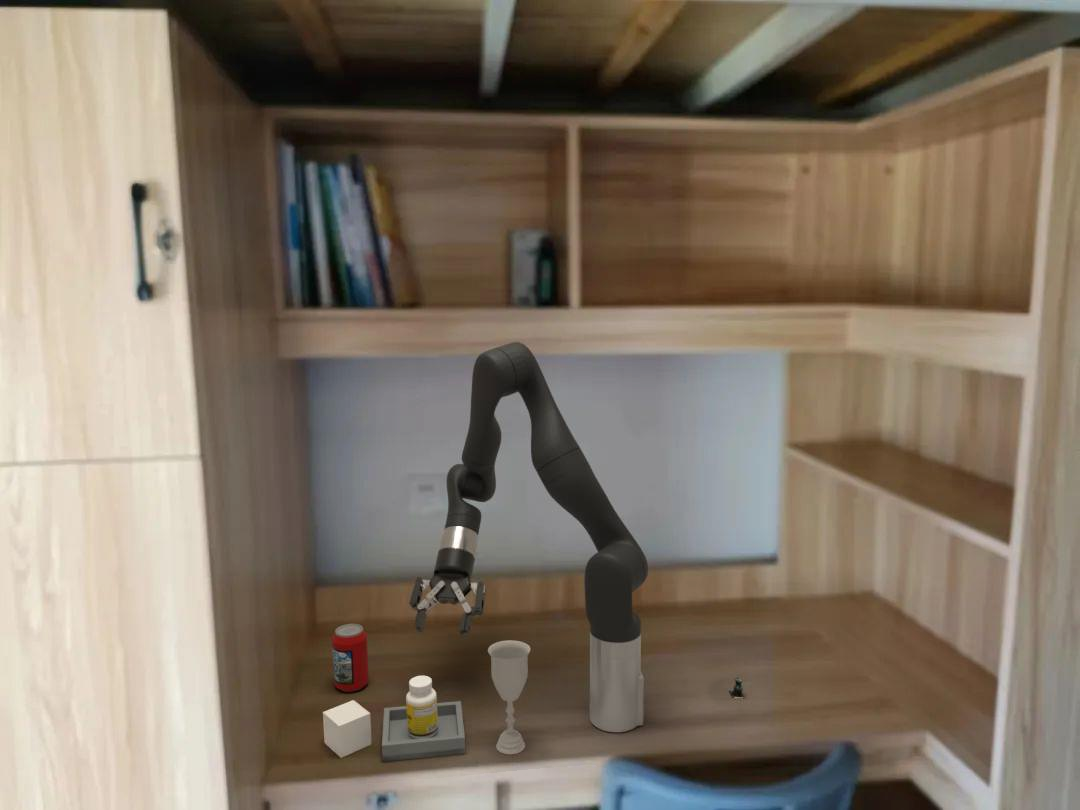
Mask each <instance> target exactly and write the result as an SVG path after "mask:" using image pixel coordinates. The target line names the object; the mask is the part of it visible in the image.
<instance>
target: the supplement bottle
mask: <svg viewBox="0 0 1080 810" xmlns="http://www.w3.org/2000/svg"><path fill="white" fill-rule="evenodd" d="M408 687H409V691H408V692H407V693H406V698H405V703H406V704H405V706H406V709H407V724H408V733H409V735H410V736H411V737H412V738H414V739H422V738H430V737H432V736H434V735H435V734H436V733H437V731H438V713H437V703H438V698H437V692H436V690H435V689H434V688H433V680H432V678H431V677H430V676H427V675H417V676H414V677H412V678H410V680H409V681H408Z"/></svg>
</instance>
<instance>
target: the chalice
mask: <svg viewBox="0 0 1080 810" xmlns="http://www.w3.org/2000/svg"><path fill="white" fill-rule="evenodd" d="M530 646H531V645H528V644H527V643H525V642H523V641H519V640H511V639H510V640H501V641H497V642H495V643H493V644H491V645H490V646H489V647H488V649H487V652H488V654H489V655H490V660H491V661H490V662H491V663H490V665H491V666H490V667H491V670H490V671H491V673H490V674H491V680H492V681H493V684H494V686H495V689H496V691H497V693H498V694H499V697H501V699H502V700H503V701H504V702H506V703H507V704H506V705H507V706H506V708H505V712H506V715H507V716H506V718H505V720H504V722H505V723H506V724H507V728H506V729H505V730H503V731H502V733H500V736H499V738H498V740H497V743H496V745H495V746H496V750H497V751H498V752H500V753H501V754H505V755H516V754H519V753H521V752H522V751H524V749H526V748H525V747H526V743H525V741H524V739H523V737H522V734H521V733H520V732H519V731H518V730H517V729H514V728H515V727H514V723H515V722H516V718H514V713H515V711H516V710H515V708H514V705H513V704H514V701H517V700H518V699H519V698H520V695H521V694H522V691H523V689H524V687H525V685H526V682H527V679H528V676H529V672H528V670H529V669H528V661H529V660H528V659H529V657H528V656H529V654H530V652H531V647H530Z"/></svg>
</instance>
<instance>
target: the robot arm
mask: <svg viewBox="0 0 1080 810" xmlns="http://www.w3.org/2000/svg"><path fill="white" fill-rule="evenodd" d="M471 380H472V381H471V394H470V395H471V396H470V412H469V413H470V415H469V423H468V424H469V425H468V431H467V435H466V438H465V442H464V445H463V450H462V453H461V461H462V463H456V464H454V465H453V466H451V467H450V468H449V469H448V472H447V475H446V492H447V493H446V494H447V502H448V503H447V504H448V505H447V507H448V508H447V514H446V520H445V524H444V530H443V533H442V535H441V537H440V538H441V539H440V541H439V547H438V552H437V556H436V561H435V565H434V571H433V575H432V577H431V578H430V579H423V578H422V577H421V576H417V577H416V579H415V582H414V585H413V589H412V591H411V595H410V598H409V603H408V604H409V605H410V607H411V609H412V610H413V611H416V615H415V620H414V627H415V628H416V630H417V632H418V633H424V628H425V623H426V620H427V612H428V611H429V610H431V608H434V607H435V606H436V605H437V604H438V603H440V604H441V605H445V604H450V605H457V604H459V603H460V605H461V606H462V608H463V610H464V613H463V614H462V616H461V617H462V618H461V624H460V629H459V634H460V636H461V637H466V635H467V634H469V633H470V631H471V626H472V621H473V617H474V616H477V615H478V616H481V615H483V614H484V608H485V598H486V591H487V590H486V589H487V587H486V585H485V583H484V581H482V580H479V581H478V582H472V577H473V571H474V565H475V561H476V557H477V553H478V552H477V550H478V539H479V533H480V528H481V522H482V512H481V510H480V509H479V508H478V507H476V506H475V505H473V504H471V503H469V502H467V501H466V500H470V501H472V502H473V501H474V502H477V503H478V502H479V503H486V502H488V501H490V500H491V499H492V498H493V497H494V495H495V492H496V488H497V487H496V486H497V480H496V479H497V478H496V471H495V470H496V469H495V465H496V462H497V461H496V460H497V457H498V453H499V451H500V447H501V443H502V430H501V426H500V424H499V422H498V420H497V417H496V415H495V412H496V409H497V407H498V404H499V402H500V401H501V399H502V398H505V397H509V396H511V395H514V394H516V393H519V395H520V396H521V399H522V400H523V403H524V404H525V407H526V409H527V411H528V414H529V419H530V427H531V428H530V431H531V432H530V434H531V435H530V457H531V462H532V465H533V467H534V470H535V471H536V474H537V476H538V478H539V479H540V480H541V483H542V485H543V486H544V488H545V489H546V492H547V493H548V494H549V496H550V497H551V498H552V500H554V501H555V502H556V503H557V504H558V505H559V506H560V507H561V508H562V509H564V510H565V511H566V512H568V513H569V514H570V515H571V516H572V517H574V519H576V520H577V521H578V522H579V523H580V525H582V527H583V529H585V531H586V532H587V534H588V536H589V538H590V539H591V541H592V543H593V545H594V547H595V549H596V550H597V552H595V553H594V554H593V555H592V556H591V557H590V558H588V561H587V563H586V565H585V569H584V602H585V603H584V605H585V615H586V619H587V621H588V623H589V720H590V722H591V724H592V725H594V727H595V728H597V729H599V730H602V731H604V732H610V733H625V732H629V731H631V730H633V729H635V728H637V727H638V726H639V727H640V726H644V698H645V696H644V695H645V694H644V691H645V690H644V689H645V687H644V685H645V683H644V681H645V680H644V675H643V673H642V671H641V665H642V664H641V661H642V659H641V658H642V656H641V655H642V654H641V653H642V652H641V649H642V643H641V642H642V620H641V617H640V616H639V615H638V614H637V613H636V612H635V611H633V592H635V591H636V590H637V589H639V588H640V587H641V586H642V585H643V584H644V583H645V581H646V580H647V577H648V574H649V564H648V561H647V557H646V555H645V553H644V551H643V550H642V548H641V546H640V545H639V543H638V542H637V540H636V539H635V537H634V536H633V534H632V533H631V532H630V531H629V529H628V527H627V526H626V524H625V523H624V522H623V520H622V518H620V516H619V515H618V513H617V511H616V510H615V509H614V506H613V505H612V503H611V501H610V500H609V498H608V496H607V493H605V491H604V489H603V487H602V485H601V484H600V481H599V480H598V478H597V477H596V475H595V473H594V471H593V469H592V466H591V465H590V463H589V461H588V459H587V458H586V455H585V453H584V452H583V451H582V449H581V447H580V445H579V444H578V442H577V440H576V439H575V437H574V435H573V434H572V432H571V429H570V428H569V426H568V424H567V423H566V421H565V418H564V416H563V415H562V413H561V411H560V409H559V407H558V405H557V403H556V401H555V399H554V396H553V394H552V391H551V389H550V387H549V386H548V383H547V380H546V378H545V376H544V374H543V371H542V369H541V366H540V365H539V363H538V360H537V358H536V357H535V355H534V354H533V352H532V351H531V350H530V348H529V347H528V346H526V345H525V344H524V343H522V342H519V341H513V342H510V343H507V344H503V345H500V346H497V347H494V348H491V349H488V350H485V351H483V352H482V353H480V354H479V355H478V356H477V357H476V359H475V361H474V364H473V369H472V376H471ZM464 499H465V500H464ZM429 587H430V591H429V592H428V593H427V594H426V595H425V596H424V598H423V600H422V597H423V593H424V592H426V591H427V589H428V588H429ZM472 590H473V593H474V595H475V601H474V605H473V606H471V605H469V603H468V601H467V599H466V597H467V595H468V594H469V593H470V592H471V591H472Z"/></svg>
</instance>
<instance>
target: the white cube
mask: <svg viewBox="0 0 1080 810" xmlns="http://www.w3.org/2000/svg"><path fill="white" fill-rule="evenodd" d="M322 719H323V720H322V721H323V737H324V738H323V739H324V744H325V745H326V746H327V747H328V748H329V749H331V751H333V753H335V754H336V755H337V756H338V757H339V758H341V759H342V758H344V757H346V756H348V755H350V754H353V753H356V752H357V751H360V750H362V749H364V748H366V747H368V746H371V745H372V744H373V743H372V724H371V723H372V721H371V712H369V711H368V710H367V709H366V708H364V707H363V706H361V705H360V704H359V703H358V702H357V701H356V700H354V699H352V700H350V701H348V702H345V703H342V704H340V705H337V706H335V707H332V708H330V709H328V710H325V711H322Z"/></svg>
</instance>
